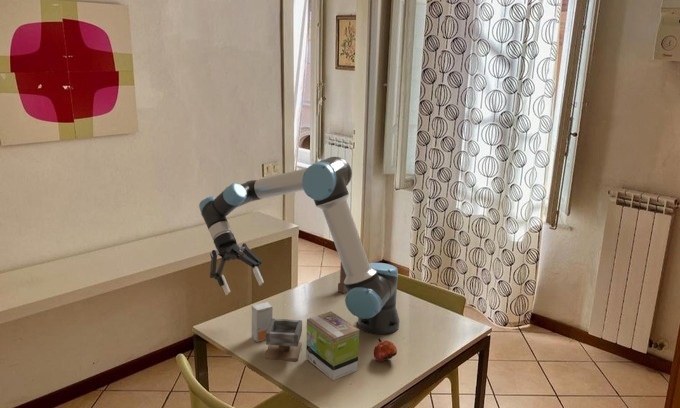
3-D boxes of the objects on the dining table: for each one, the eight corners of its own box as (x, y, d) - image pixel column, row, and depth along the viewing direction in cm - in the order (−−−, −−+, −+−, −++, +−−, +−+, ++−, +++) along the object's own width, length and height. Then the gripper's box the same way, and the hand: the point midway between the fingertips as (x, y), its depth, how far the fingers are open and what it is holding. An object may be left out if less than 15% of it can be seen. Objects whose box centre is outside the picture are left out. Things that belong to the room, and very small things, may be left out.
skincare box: (256, 342, 186) (256, 310, 183) (251, 337, 190) (251, 305, 186) (272, 338, 189) (272, 306, 186) (267, 333, 193) (267, 301, 190)
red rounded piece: (399, 368, 178) (389, 340, 183) (403, 360, 172) (393, 331, 177) (377, 373, 176) (368, 344, 181) (381, 365, 170) (371, 335, 176)
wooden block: (361, 287, 234) (363, 247, 229) (343, 294, 226) (345, 252, 222) (355, 284, 236) (357, 244, 232) (337, 291, 229) (338, 250, 224)
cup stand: (301, 344, 186) (302, 320, 184) (297, 360, 176) (297, 335, 174) (271, 342, 186) (271, 318, 184) (265, 358, 177) (265, 333, 174)
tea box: (304, 359, 177) (305, 317, 173) (329, 350, 183) (331, 309, 179) (332, 381, 166) (334, 337, 162) (358, 371, 171) (360, 328, 168)
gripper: (248, 235, 210) (270, 284, 204) (187, 248, 194) (209, 302, 188) (256, 225, 205) (279, 275, 198) (194, 237, 189) (217, 292, 182)
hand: (245, 288), depth 193 cm, fingers open, 13 cm apart
